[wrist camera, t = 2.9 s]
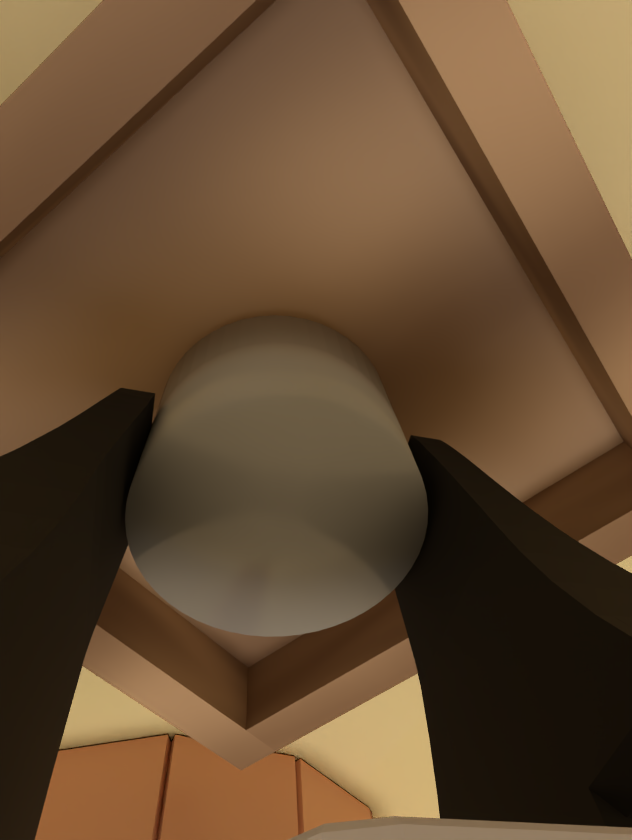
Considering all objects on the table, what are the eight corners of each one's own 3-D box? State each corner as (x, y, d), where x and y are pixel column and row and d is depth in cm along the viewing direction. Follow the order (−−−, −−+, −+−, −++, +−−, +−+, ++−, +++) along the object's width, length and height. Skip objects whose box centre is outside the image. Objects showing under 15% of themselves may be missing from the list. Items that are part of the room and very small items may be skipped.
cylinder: (110, 410, 12) (57, 516, 9) (295, 264, 11) (308, 329, 8) (260, 549, 14) (259, 674, 11) (430, 438, 13) (481, 543, 10)
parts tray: (-199, 357, 12) (-300, 413, 10) (347, -186, 9) (372, -277, 7) (244, 689, 18) (241, 770, 16) (673, 434, 15) (744, 493, 13)
